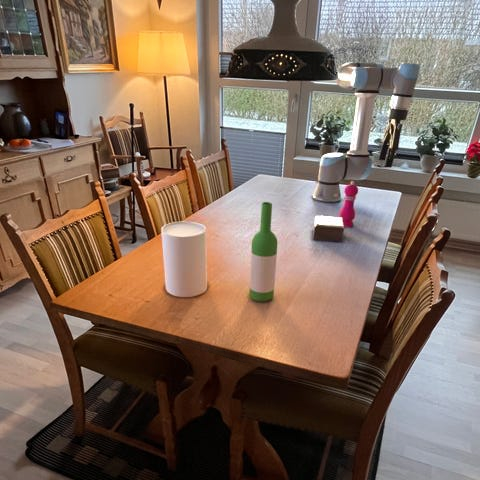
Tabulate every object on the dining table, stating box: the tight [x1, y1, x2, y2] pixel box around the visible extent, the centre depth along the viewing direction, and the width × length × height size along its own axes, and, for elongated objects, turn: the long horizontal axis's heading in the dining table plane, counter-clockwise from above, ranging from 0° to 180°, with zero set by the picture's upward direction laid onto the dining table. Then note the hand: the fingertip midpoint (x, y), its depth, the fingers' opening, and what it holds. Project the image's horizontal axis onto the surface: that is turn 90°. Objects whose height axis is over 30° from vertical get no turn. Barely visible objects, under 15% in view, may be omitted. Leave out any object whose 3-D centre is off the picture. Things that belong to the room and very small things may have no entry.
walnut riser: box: [312, 215, 345, 243], centre depth 177 cm, size 12×12×7 cm
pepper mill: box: [338, 180, 359, 228], centre depth 187 cm, size 7×7×20 cm
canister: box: [160, 220, 208, 298], centre depth 131 cm, size 14×14×20 cm
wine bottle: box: [249, 201, 279, 303], centre depth 124 cm, size 8×8×30 cm
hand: (384, 163), depth 177 cm, fingers open, 13 cm apart
